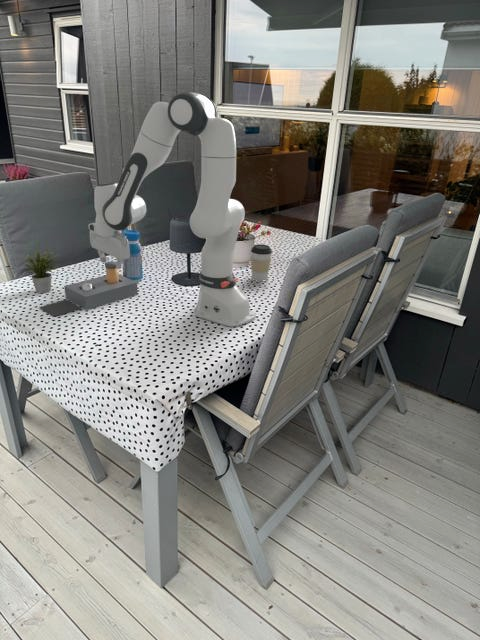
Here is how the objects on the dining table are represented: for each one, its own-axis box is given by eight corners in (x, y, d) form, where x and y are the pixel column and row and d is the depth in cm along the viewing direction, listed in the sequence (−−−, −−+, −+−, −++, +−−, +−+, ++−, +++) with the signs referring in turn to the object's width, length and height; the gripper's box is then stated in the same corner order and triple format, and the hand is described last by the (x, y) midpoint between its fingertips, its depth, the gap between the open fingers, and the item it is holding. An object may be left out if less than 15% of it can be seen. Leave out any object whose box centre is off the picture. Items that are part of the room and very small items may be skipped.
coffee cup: (270, 276, 200) (272, 243, 194) (269, 283, 192) (272, 249, 186) (249, 274, 201) (252, 242, 194) (248, 281, 193) (250, 247, 186)
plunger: (89, 295, 167) (88, 281, 165) (95, 298, 165) (94, 284, 163) (81, 298, 165) (79, 284, 162) (86, 301, 163) (85, 286, 160)
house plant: (48, 301, 163) (42, 258, 156) (14, 296, 165) (7, 253, 158) (69, 287, 175) (65, 247, 168) (37, 283, 178) (31, 243, 171)
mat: (81, 309, 158) (80, 307, 158) (54, 317, 151) (54, 315, 151) (66, 300, 164) (65, 299, 164) (39, 308, 157) (39, 306, 157)
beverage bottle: (131, 284, 183) (129, 235, 174) (118, 278, 187) (115, 231, 179) (147, 279, 189) (145, 232, 180) (134, 274, 193) (131, 228, 185)
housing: (116, 284, 181) (115, 272, 179) (137, 294, 173) (137, 282, 171) (65, 298, 166) (64, 285, 164) (86, 310, 158) (85, 296, 156)
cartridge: (122, 293, 173) (120, 263, 168) (112, 296, 170) (109, 266, 165) (115, 289, 176) (113, 260, 171) (104, 293, 173) (102, 263, 167)
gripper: (133, 233, 159) (134, 270, 165) (100, 221, 170) (102, 256, 176) (118, 236, 154) (120, 274, 160) (85, 223, 166) (88, 259, 172)
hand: (110, 264), depth 168 cm, fingers open, 8 cm apart
